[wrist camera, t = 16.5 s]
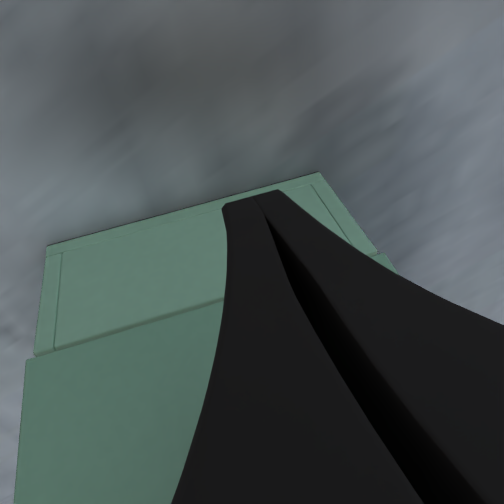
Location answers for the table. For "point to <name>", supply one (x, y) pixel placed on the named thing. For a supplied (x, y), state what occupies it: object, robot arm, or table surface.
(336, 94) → the table surface
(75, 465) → the maker lid
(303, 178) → the green storage bin
